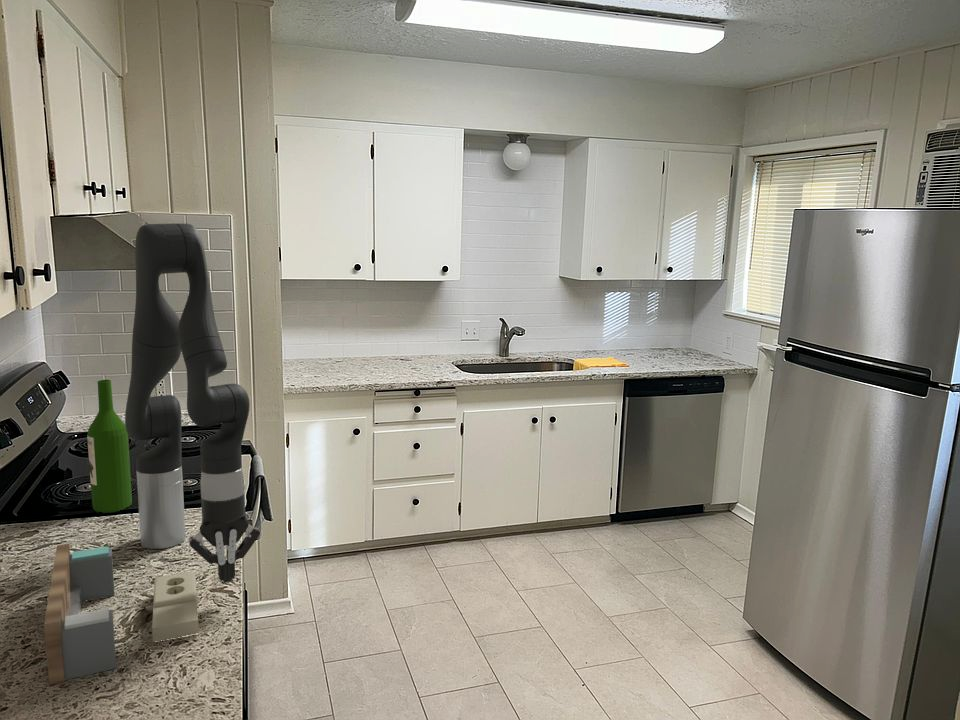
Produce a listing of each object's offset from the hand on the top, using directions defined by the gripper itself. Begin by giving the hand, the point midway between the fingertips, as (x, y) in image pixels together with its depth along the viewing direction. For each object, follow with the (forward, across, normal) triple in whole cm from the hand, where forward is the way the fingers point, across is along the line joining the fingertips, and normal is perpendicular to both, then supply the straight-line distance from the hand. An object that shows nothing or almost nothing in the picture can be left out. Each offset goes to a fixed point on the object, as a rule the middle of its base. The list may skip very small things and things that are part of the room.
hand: (226, 580), depth 132 cm
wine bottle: (+3, +19, -62) cm, 65 cm away
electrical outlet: (+5, +9, +1) cm, 10 cm away
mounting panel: (+4, +27, 0) cm, 27 cm away
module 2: (+4, +22, +13) cm, 26 cm away
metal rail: (+4, +25, 0) cm, 26 cm away
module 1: (+4, +22, -13) cm, 26 cm away
